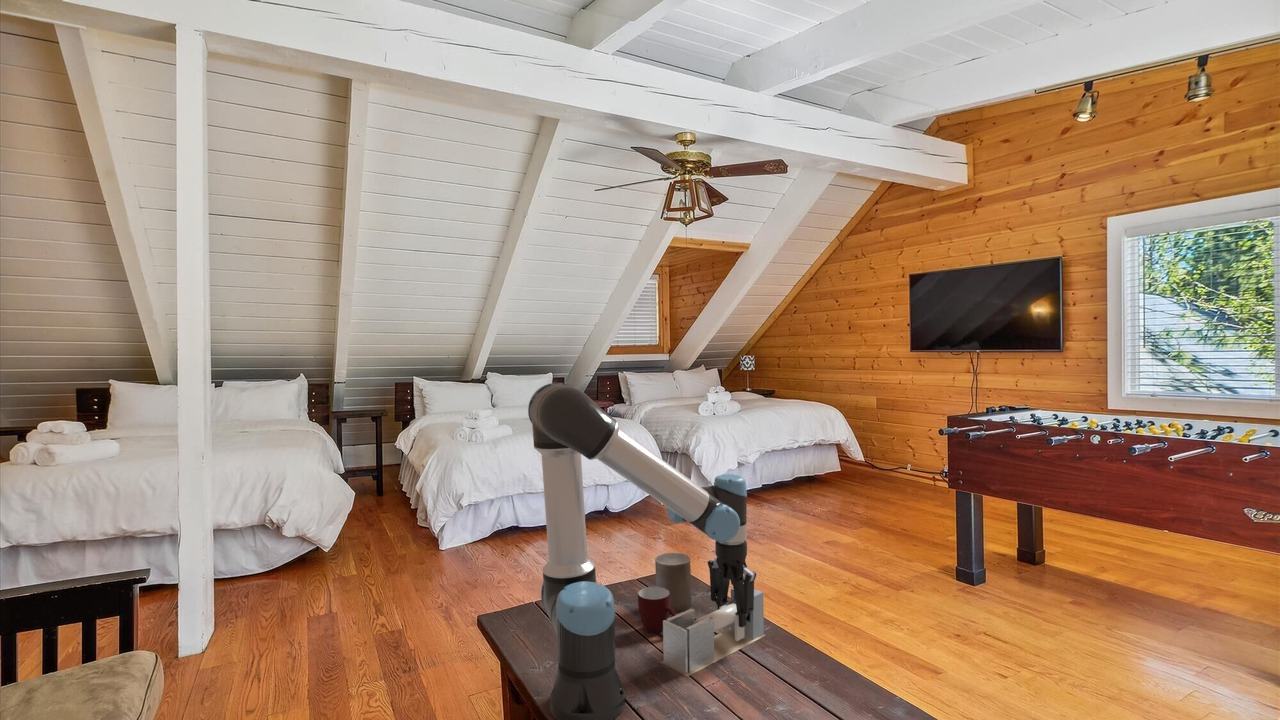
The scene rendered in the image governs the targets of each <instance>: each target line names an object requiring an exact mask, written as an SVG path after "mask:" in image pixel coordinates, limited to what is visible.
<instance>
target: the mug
mask: <svg viewBox="0 0 1280 720" xmlns="http://www.w3.org/2000/svg"><path fill="white" fill-rule="evenodd" d="M637 605H638V610H639V615H640V621H641V625H642V626H643V628H644V630H645V632H647V633H650V634H660V633H663V621H664V620H666V621H667V619H668V618H669V615H668V614H669V613H670V614H671V615H670V618H671V617H673V616H675V615H677V613H675V611H674V609H673V608H671V607H670V592H669V591H668V590H667V589H665V588H662V587H656V586H648V587H647V586H646V587H643V588H641V589H639V590H638V592H637Z"/></svg>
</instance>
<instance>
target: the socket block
mask: <svg viewBox="0 0 1280 720" xmlns="http://www.w3.org/2000/svg"><path fill="white" fill-rule="evenodd" d="M732 600H735V595H734V589H733V587H731V588H730V602H731V601H732ZM764 611H765V610H764V592H763V591H761V590H758V589H755V588H754V610H753V611H752V612H750V615H748V616H747V618H746V626H744V636H746V637H748V638H751V639H753V640H754V639H756V638H757V637H759V636H761V635H763V634H764V633H765V632H764V630H765V629H764V623H765V622H764V619H765V616H764V613H765V612H764ZM730 628H731V630H732V631H735V622H734V623H732V624H730ZM764 635H765V634H764Z"/></svg>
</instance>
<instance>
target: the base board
mask: <svg viewBox="0 0 1280 720" xmlns="http://www.w3.org/2000/svg"><path fill="white" fill-rule="evenodd" d="M764 637H766V634H763V635H761V636H759V637H757V638H756V639H754V640H753V639H751V638H748V637H746V636H744V638H742V639H740V640H738V641H736V640H735V631H732V630H731V627H729V631H728V632H726V633H724V634H720V633H718V634H716V635H714V660H713V661H711V662H709V663H707V664H706V665H704V666H702V667H700V668H698V669H696V670H694V671H692V672H690V673H689V672H688V674H686V675H685V674H684V673H682V672H680V671H678V670H676V669H674V668H672V667H671V666H669V665H667V664H665V663H664V660H662V661H660V663H661V664H663V665H665V666H667V667H669V668H670V669H672V670H674V671H676V672H677V673H679V674H681V675H683V676H685V677H689V676H692V675H693V674H695V673H698V672H699V671H701V670H703V669H705V668H708V667H709V666H711V665H712V664H714V663H716V662H719V661H720V660H721V659H723V658H726V657H727V656H730V655H731V654H733V653H735V652H737V651H739V650H741V649H742V648H745V647H747V646H749V645H750V644H752V643H755V642H756V641H758V640H761V639H762V638H764Z"/></svg>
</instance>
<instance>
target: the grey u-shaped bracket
mask: <svg viewBox="0 0 1280 720" xmlns="http://www.w3.org/2000/svg"><path fill="white" fill-rule="evenodd" d="M695 611H696V610H695V609H694V608H690V609H688V610H687V611H684V612H680V613H678V614H676V615H675V616H673V617H671V616H670V617H668V619H667V621H666V620H664V621H663V631H662V633H663V634H662V639H663V640H662V642H663V643H662V645H663V648H662V650H663V661H664V663H665V664H667V665H669V666H671V667H672V668H674V669H676V670H678V671H680V672H682V673H684V674H685V675H686V674H688V672H689V673H690V672H692V671H694V670H696V669H698V668H700V667H702V666H704V665H706V664H707V663H709V662H711V661H713V660H714V636H715V632H714V618H712V617H709V618H707V619H704V620H702V621H700V622H698V623H696V624H693V623H694V621H695V620H696V617H695ZM665 664H664V665H665ZM667 665H666V666H667ZM672 668H671V669H672ZM674 669H673V670H674ZM676 670H675V671H676ZM678 671H677V672H678ZM685 675H684V676H685Z"/></svg>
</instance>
